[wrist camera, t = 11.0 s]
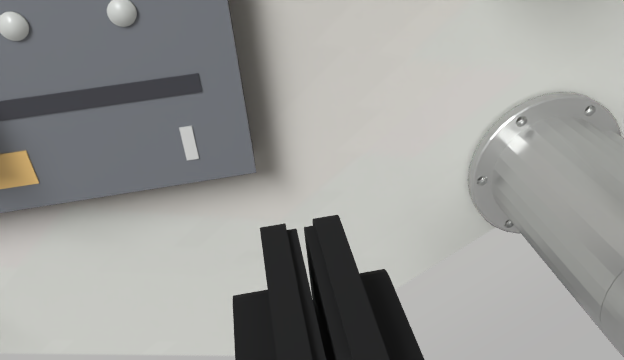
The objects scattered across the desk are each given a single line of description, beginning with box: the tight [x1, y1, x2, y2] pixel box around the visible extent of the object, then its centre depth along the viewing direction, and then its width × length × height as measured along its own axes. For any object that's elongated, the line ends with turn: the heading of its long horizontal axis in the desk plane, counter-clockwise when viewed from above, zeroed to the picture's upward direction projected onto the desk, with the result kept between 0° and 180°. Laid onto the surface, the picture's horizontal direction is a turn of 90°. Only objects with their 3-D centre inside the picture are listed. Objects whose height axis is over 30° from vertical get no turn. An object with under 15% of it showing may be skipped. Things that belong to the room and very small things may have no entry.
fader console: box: [0, 0, 256, 213], centre depth 34 cm, size 24×14×3 cm, turn 96°
